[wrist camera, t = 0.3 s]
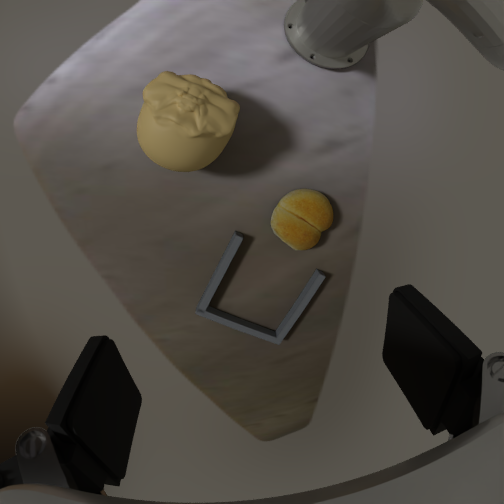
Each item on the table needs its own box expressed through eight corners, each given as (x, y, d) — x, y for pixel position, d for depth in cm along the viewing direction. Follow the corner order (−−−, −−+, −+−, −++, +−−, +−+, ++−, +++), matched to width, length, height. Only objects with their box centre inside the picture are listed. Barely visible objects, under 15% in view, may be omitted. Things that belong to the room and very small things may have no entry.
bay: (235, 230, 43) (235, 234, 41) (322, 271, 46) (325, 276, 45) (196, 307, 47) (195, 313, 46) (277, 338, 51) (279, 344, 49)
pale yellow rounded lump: (249, 105, 36) (255, 94, 26) (207, 180, 40) (198, 196, 30) (176, 71, 34) (157, 51, 24) (136, 146, 37) (106, 151, 27)
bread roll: (339, 208, 43) (349, 215, 39) (302, 253, 45) (308, 264, 42) (297, 174, 41) (304, 178, 37) (260, 223, 43) (262, 232, 39)
